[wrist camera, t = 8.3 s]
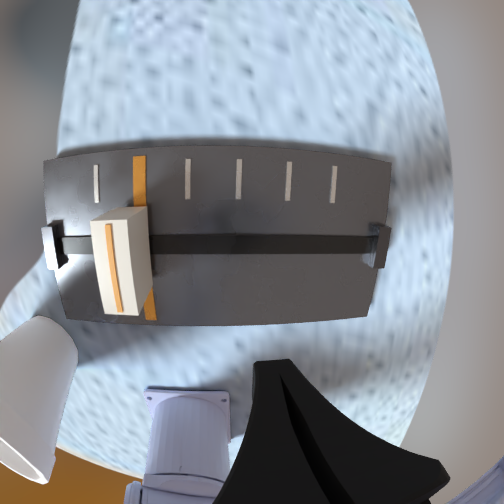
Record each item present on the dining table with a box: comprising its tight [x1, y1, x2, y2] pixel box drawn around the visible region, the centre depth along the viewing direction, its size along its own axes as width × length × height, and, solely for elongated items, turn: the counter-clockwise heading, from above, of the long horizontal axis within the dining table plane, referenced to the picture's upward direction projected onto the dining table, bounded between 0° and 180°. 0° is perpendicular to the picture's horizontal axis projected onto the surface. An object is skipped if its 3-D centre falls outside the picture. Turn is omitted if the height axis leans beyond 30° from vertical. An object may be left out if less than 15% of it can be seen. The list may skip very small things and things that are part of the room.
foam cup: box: [0, 315, 78, 484], centre depth 13 cm, size 10×9×13 cm
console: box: [41, 145, 391, 326], centre depth 17 cm, size 12×24×2 cm, turn 88°
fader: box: [90, 206, 153, 316], centre depth 14 cm, size 5×2×4 cm, turn 178°
